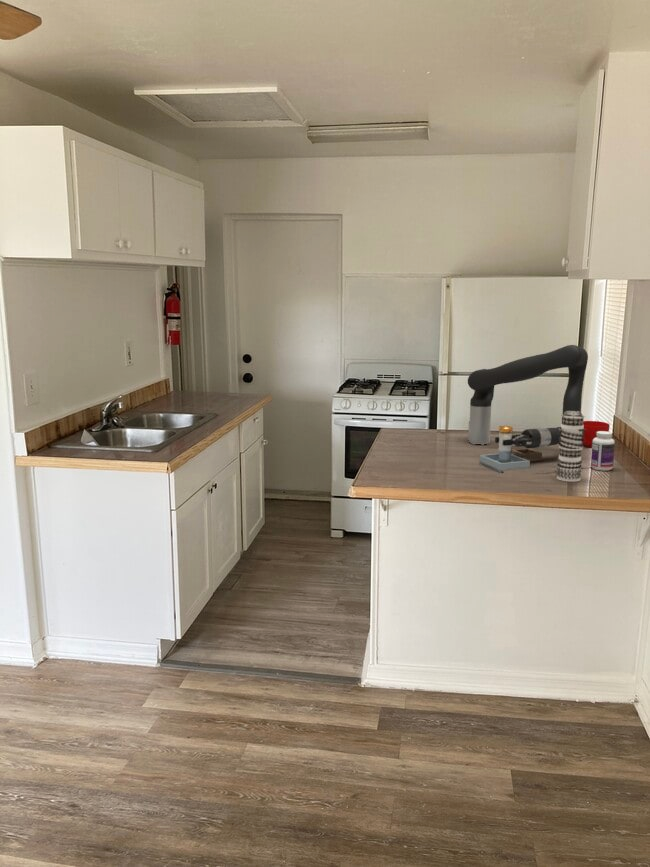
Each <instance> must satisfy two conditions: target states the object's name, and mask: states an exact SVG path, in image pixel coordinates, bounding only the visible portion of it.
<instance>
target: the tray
mask: <svg viewBox="0 0 650 867" xmlns="http://www.w3.org/2000/svg"><path fill="white" fill-rule="evenodd" d="M481 464H482V465H481ZM479 465H481V466H483V465H484V467H486V468H488V469H489V470H493V471H495V472H497V473H499V474H503V472H504V471H510V470H517V469H519V470H520V469H528V468H530V467H531V466H530V465H531V461H528V460H526V459H523V458H521V457H518V456H515V455H513V454H511V462H509V463H500V462H498V453H489V454H479Z"/></svg>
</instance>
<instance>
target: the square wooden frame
mask: <svg viewBox="0 0 650 867" xmlns="http://www.w3.org/2000/svg"><path fill="white" fill-rule="evenodd" d="M511 454H513V455H515V456H518V457H521V458H523V459H526V460H528V461H530V462H536V461H537V462H538V461H542V460H543V452H541V451H538V450H535V449H534V448H526V447H523V448H515V449H511Z"/></svg>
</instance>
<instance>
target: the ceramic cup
mask: <svg viewBox="0 0 650 867" xmlns="http://www.w3.org/2000/svg"><path fill="white" fill-rule="evenodd" d="M583 425H584V429H585V431H584V435H585V436H584V437H583V439H584V441H582V444H583V446H584V447H588V448H592V441H593V439H594V438H596V437H597V436H596V432H598V431H607V432H610V423H608V422H604V421H599V420H583Z"/></svg>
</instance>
